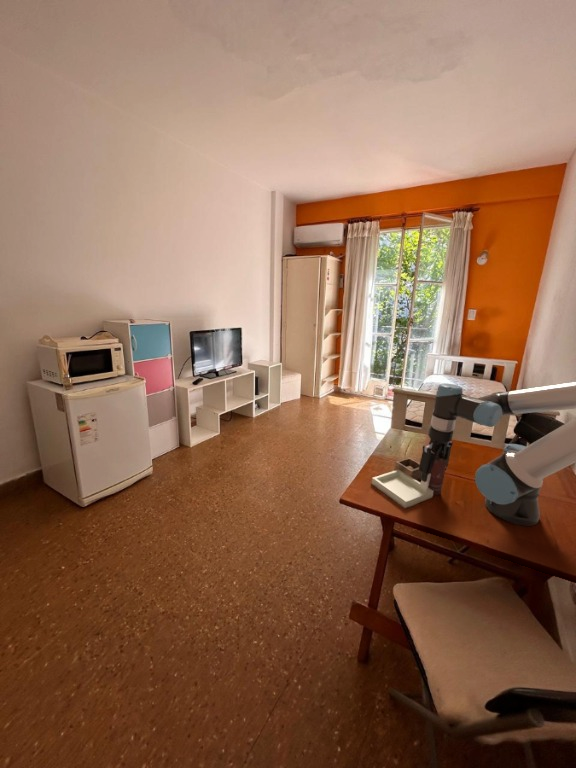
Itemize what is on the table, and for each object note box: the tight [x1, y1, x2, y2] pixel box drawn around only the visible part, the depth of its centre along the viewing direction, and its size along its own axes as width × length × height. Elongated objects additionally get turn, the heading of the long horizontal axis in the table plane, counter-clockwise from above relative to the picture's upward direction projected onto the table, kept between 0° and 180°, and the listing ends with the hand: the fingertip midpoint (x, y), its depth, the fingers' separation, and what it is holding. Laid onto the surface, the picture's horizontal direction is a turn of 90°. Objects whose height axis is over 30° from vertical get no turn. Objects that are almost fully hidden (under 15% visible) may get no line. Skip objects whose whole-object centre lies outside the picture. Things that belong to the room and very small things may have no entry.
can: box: [428, 453, 447, 496], centre depth 116 cm, size 6×6×14 cm
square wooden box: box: [393, 457, 422, 481], centre depth 126 cm, size 8×8×5 cm
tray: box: [371, 469, 434, 509], centre depth 116 cm, size 16×14×3 cm
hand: (429, 486), depth 116 cm, fingers open, 6 cm apart
